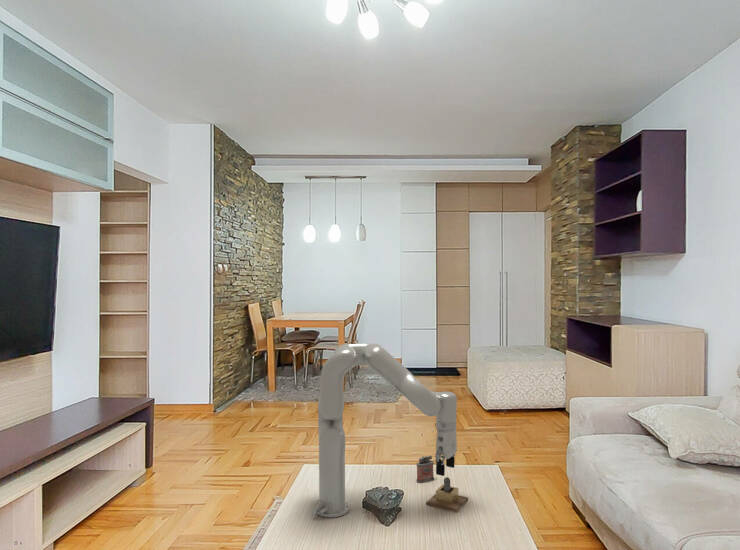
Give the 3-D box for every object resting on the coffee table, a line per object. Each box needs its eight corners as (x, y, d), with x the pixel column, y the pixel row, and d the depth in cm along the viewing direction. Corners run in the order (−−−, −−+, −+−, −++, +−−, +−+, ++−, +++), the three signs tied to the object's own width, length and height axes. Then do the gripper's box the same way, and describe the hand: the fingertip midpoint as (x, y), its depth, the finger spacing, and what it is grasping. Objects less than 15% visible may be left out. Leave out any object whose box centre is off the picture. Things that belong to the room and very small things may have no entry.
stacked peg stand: (456, 512, 179) (456, 486, 179) (426, 505, 185) (425, 479, 185) (467, 500, 189) (467, 475, 189) (438, 493, 195) (438, 469, 195)
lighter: (419, 483, 205) (419, 459, 205) (415, 480, 208) (414, 456, 208) (435, 480, 208) (435, 456, 209) (430, 477, 211) (430, 453, 212)
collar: (452, 505, 182) (451, 494, 183) (436, 501, 186) (435, 490, 186) (458, 498, 188) (458, 487, 188) (442, 494, 191) (442, 484, 191)
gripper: (446, 432, 178) (445, 480, 178) (463, 421, 193) (462, 466, 193) (427, 429, 182) (426, 476, 182) (445, 418, 197) (444, 462, 196)
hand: (445, 470), depth 187 cm, fingers open, 9 cm apart
